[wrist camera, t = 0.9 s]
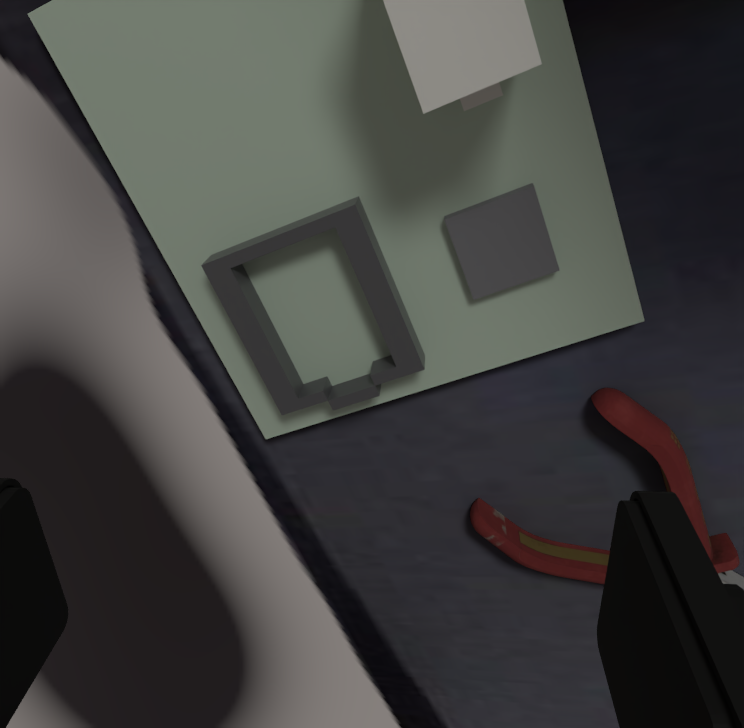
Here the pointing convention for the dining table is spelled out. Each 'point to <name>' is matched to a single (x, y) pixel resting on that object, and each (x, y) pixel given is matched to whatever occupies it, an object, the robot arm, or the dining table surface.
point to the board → (352, 182)
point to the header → (264, 338)
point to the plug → (462, 47)
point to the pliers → (595, 561)
